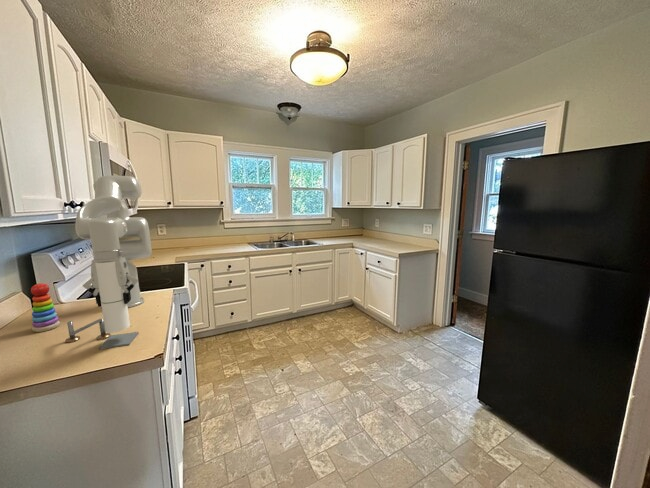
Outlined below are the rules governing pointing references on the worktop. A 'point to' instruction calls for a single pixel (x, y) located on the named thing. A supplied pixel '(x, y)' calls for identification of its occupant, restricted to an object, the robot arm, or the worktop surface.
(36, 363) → the worktop surface
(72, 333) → the metal linkage
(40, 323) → the stacking toy
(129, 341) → the mat
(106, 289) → the cylindrical container
